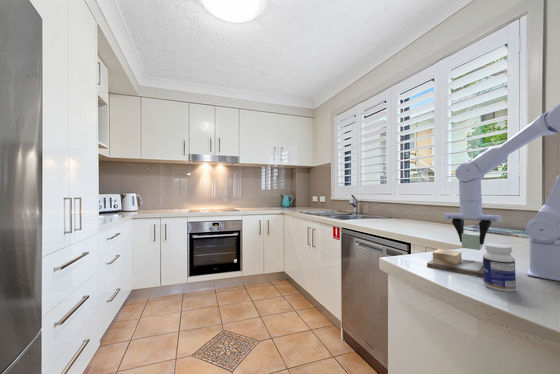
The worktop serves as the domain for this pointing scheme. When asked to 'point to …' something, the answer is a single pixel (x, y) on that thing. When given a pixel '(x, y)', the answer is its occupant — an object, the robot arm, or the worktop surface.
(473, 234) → the sage block
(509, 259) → the pill bottle
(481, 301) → the worktop surface
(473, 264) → the board
